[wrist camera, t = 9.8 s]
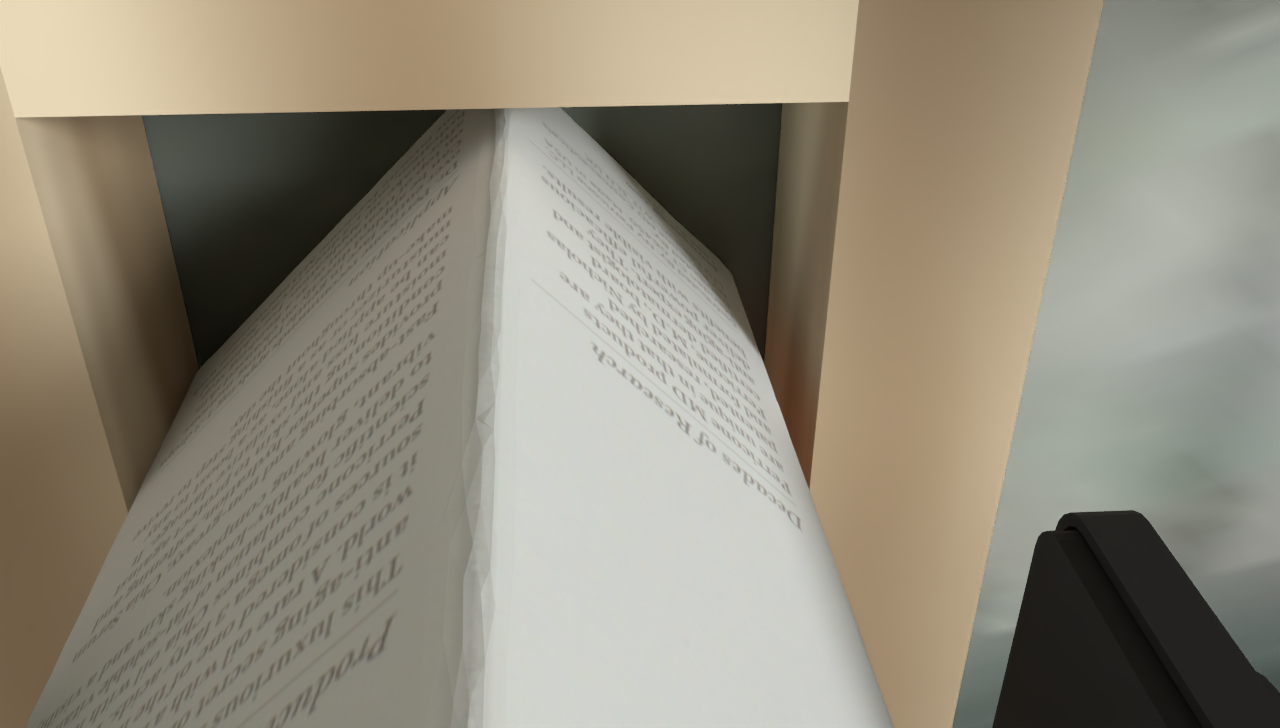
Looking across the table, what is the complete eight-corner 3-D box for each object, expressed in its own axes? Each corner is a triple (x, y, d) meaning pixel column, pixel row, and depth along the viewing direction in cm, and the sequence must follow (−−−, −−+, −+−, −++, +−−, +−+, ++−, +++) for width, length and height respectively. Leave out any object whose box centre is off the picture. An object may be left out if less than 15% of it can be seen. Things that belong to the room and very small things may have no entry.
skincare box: (443, 535, 17) (282, 1906, 6) (194, 364, 15) (-586, 1873, 5) (752, 265, 15) (1241, 1597, 4) (509, 32, 13) (387, 1335, 3)
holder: (1011, -196, 12) (1139, -165, 10) (883, 633, 18) (939, 788, 16) (-160, -194, 11) (-367, -160, 9) (117, 671, 17) (43, 841, 15)
